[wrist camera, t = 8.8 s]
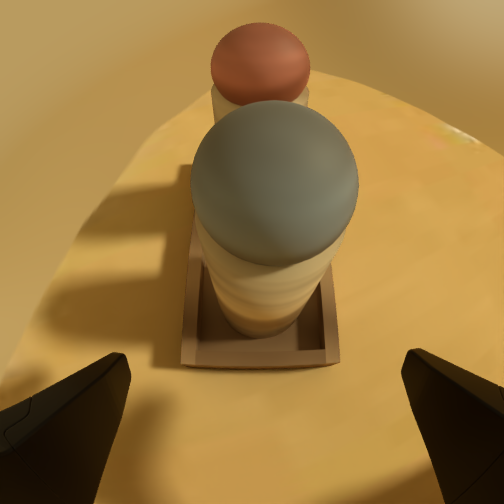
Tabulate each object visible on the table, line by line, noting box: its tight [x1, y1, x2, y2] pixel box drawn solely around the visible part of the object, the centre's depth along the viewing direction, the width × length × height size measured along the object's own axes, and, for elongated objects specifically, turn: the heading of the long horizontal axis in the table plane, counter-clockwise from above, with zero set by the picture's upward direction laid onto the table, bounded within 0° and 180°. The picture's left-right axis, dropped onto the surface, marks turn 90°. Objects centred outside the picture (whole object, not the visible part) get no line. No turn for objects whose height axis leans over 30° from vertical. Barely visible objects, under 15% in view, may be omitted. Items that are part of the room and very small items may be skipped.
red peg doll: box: [211, 23, 310, 124], centre depth 15 cm, size 5×5×13 cm
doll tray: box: [181, 210, 340, 369], centre depth 19 cm, size 16×9×2 cm, turn 0°
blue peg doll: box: [191, 100, 359, 338], centre depth 12 cm, size 5×5×13 cm
